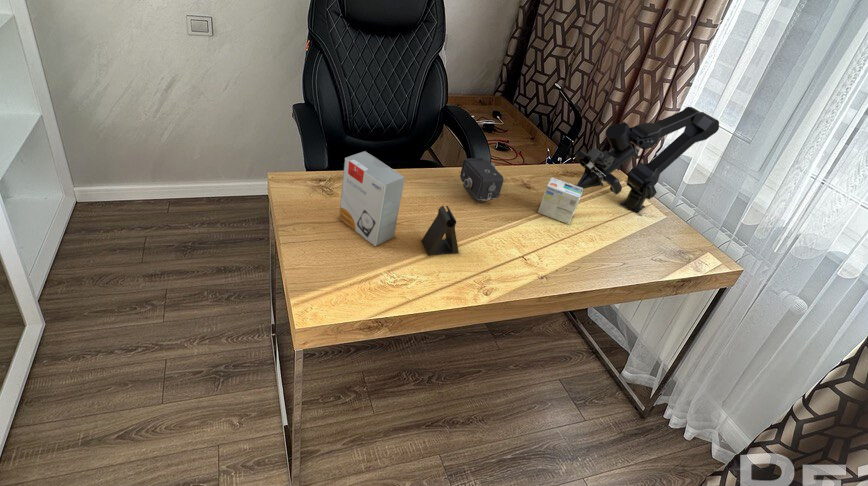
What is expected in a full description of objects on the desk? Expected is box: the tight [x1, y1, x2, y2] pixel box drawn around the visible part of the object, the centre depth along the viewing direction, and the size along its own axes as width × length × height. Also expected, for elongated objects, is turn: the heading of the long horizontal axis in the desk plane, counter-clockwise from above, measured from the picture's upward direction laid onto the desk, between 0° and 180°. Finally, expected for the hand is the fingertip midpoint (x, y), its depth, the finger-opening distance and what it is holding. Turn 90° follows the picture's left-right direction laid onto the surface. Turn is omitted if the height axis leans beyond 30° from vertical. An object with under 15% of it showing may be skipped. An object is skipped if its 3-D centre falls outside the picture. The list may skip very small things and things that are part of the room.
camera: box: [459, 157, 505, 202], centre depth 163 cm, size 11×11×15 cm
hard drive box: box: [338, 150, 406, 247], centre depth 136 cm, size 16×8×20 cm, turn 47°
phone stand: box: [421, 205, 459, 256], centre depth 137 cm, size 9×6×12 cm, turn 106°
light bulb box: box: [537, 176, 584, 225], centre depth 162 cm, size 11×7×11 cm, turn 65°
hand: (576, 188), depth 161 cm, fingers closed
